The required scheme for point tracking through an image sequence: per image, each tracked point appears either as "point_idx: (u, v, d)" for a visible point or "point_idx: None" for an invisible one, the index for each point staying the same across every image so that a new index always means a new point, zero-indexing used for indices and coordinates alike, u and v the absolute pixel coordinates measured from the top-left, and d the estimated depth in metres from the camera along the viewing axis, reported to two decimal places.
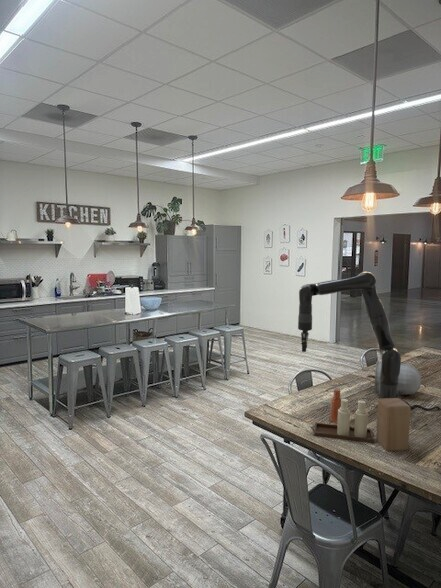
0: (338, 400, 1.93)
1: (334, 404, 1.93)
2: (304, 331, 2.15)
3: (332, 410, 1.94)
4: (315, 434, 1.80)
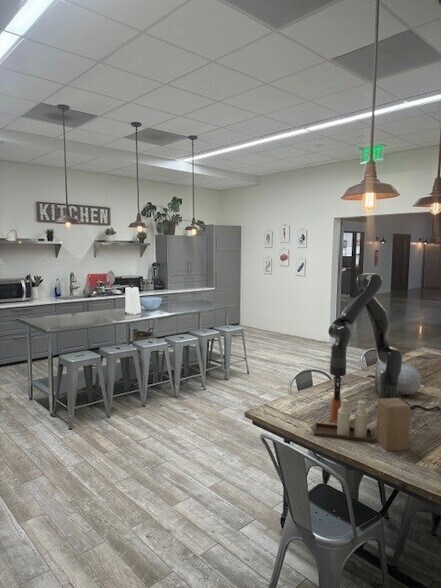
0: None
1: (334, 404, 1.93)
2: (337, 377, 1.90)
3: (332, 410, 1.94)
4: (315, 434, 1.80)
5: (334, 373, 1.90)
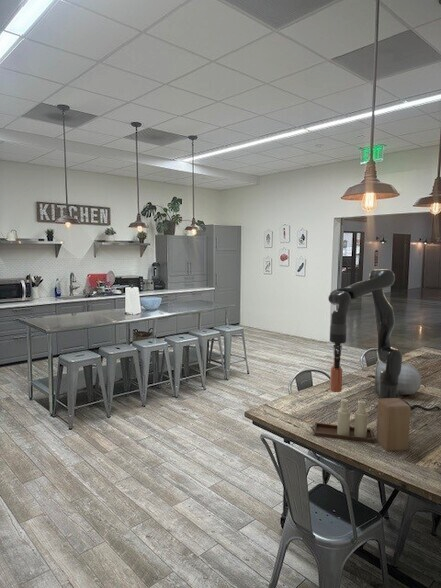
0: None
1: (334, 372, 1.90)
2: (337, 344, 1.86)
3: (332, 378, 1.91)
4: (315, 434, 1.80)
5: (334, 340, 1.87)
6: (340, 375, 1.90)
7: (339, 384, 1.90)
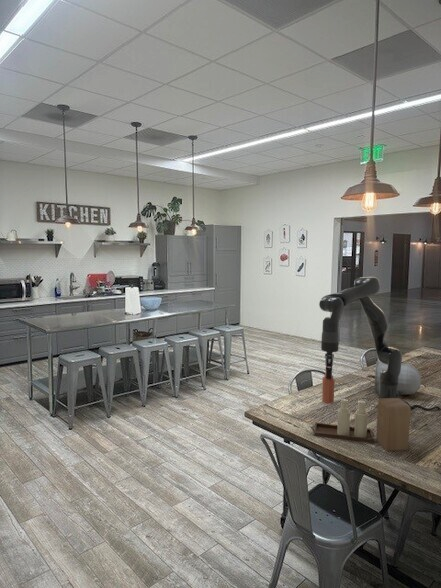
0: None
1: (325, 382, 1.79)
2: (329, 353, 1.76)
3: (323, 389, 1.81)
4: (315, 434, 1.80)
5: (326, 349, 1.77)
6: (332, 385, 1.79)
7: (331, 395, 1.80)
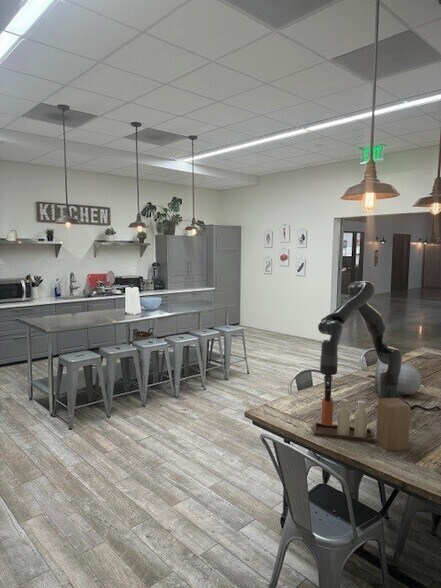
0: None
1: (324, 404, 1.80)
2: (328, 376, 1.77)
3: (322, 411, 1.81)
4: (315, 434, 1.80)
5: (324, 372, 1.78)
6: (331, 408, 1.80)
7: (330, 417, 1.80)
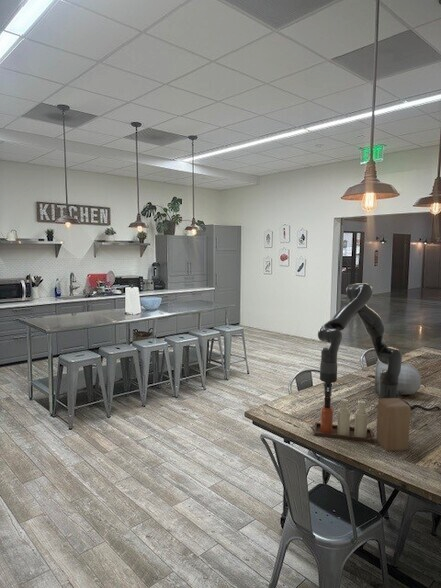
0: (328, 409, 1.81)
1: (324, 413, 1.81)
2: (328, 383, 1.77)
3: (322, 420, 1.82)
4: (315, 434, 1.80)
5: (324, 379, 1.78)
6: (331, 416, 1.81)
7: (330, 426, 1.81)
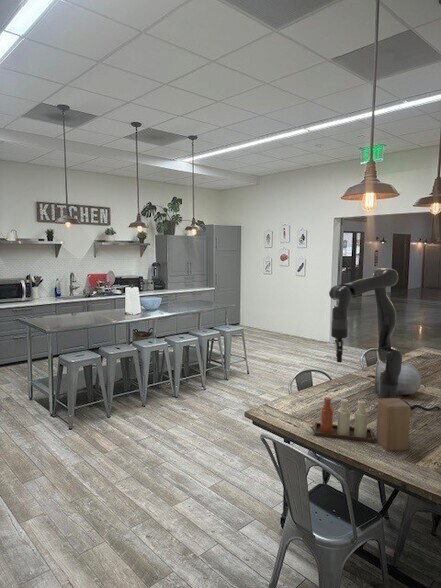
0: (328, 409, 1.81)
1: (324, 413, 1.81)
2: (339, 339, 1.88)
3: (322, 420, 1.82)
4: (315, 434, 1.80)
5: (336, 335, 1.89)
6: (331, 416, 1.81)
7: (330, 426, 1.81)
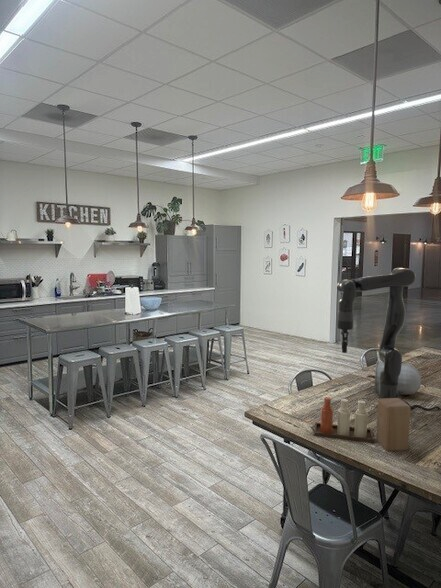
0: (328, 409, 1.81)
1: (324, 413, 1.81)
2: (345, 330, 1.98)
3: (322, 420, 1.82)
4: (315, 434, 1.80)
5: (341, 327, 1.99)
6: (331, 416, 1.81)
7: (330, 426, 1.81)
